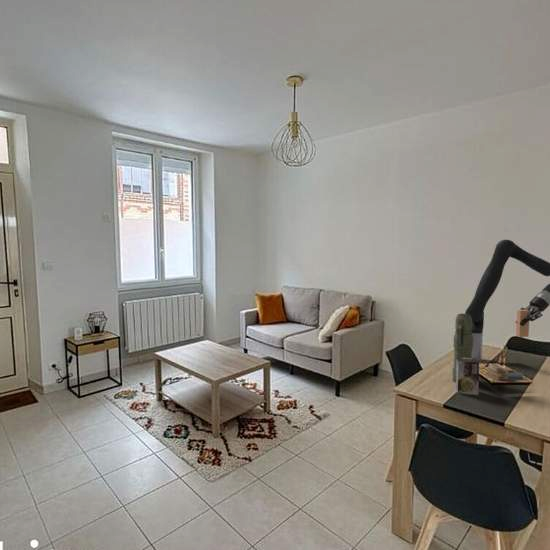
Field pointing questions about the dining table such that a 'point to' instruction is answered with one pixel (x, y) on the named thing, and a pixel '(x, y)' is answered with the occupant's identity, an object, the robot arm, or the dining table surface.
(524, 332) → the board
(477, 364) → the coffee box
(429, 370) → the dining table surface
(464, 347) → the thermos
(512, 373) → the rack
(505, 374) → the offcut pile
